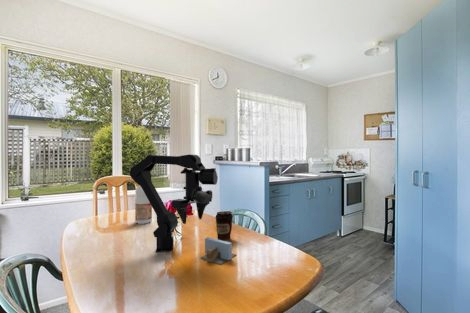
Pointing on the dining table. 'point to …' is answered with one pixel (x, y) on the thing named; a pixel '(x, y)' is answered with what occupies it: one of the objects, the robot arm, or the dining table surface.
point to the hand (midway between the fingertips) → (192, 221)
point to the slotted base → (214, 256)
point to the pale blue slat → (219, 247)
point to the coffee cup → (224, 225)
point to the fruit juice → (142, 207)
